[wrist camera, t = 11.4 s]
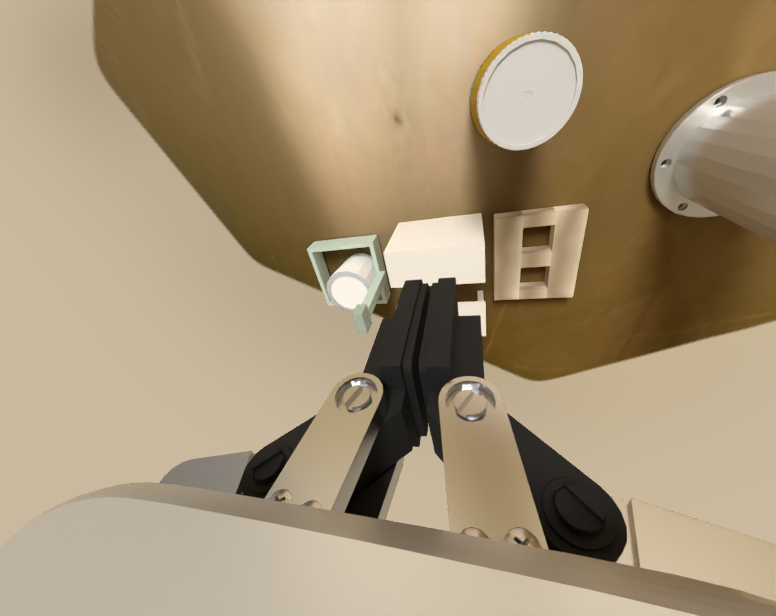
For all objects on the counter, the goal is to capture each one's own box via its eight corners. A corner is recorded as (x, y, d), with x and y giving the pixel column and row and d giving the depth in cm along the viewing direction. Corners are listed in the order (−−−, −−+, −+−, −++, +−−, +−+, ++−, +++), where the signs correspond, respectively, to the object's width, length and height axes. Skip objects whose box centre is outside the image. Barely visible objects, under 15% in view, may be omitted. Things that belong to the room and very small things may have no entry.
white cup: (375, 293, 49) (363, 319, 44) (337, 276, 49) (321, 300, 43) (391, 261, 45) (380, 285, 39) (349, 241, 44) (333, 263, 39)
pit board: (583, 203, 35) (588, 208, 33) (568, 289, 42) (572, 297, 40) (493, 213, 38) (494, 219, 36) (493, 292, 44) (494, 300, 43)
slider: (383, 233, 42) (353, 286, 31) (396, 293, 48) (374, 356, 37) (314, 241, 45) (264, 291, 34) (333, 296, 51) (296, 355, 40)
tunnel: (481, 213, 38) (484, 243, 31) (482, 294, 45) (486, 336, 37) (398, 223, 41) (383, 253, 34) (412, 298, 48) (401, 336, 41)
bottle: (557, 84, 29) (618, 82, 18) (500, 146, 33) (518, 179, 22) (509, 28, 28) (539, -15, 16) (455, 101, 32) (448, 109, 20)
